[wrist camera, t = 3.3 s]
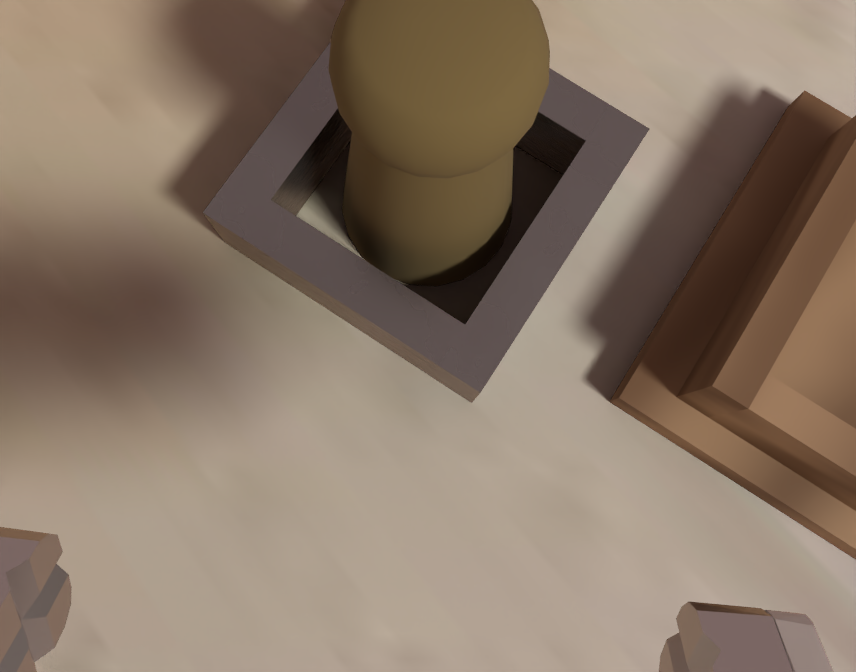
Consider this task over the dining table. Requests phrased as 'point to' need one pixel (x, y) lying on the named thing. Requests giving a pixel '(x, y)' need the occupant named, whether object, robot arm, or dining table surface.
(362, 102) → the cork
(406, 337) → the socket block
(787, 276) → the walnut rack
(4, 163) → the dining table surface
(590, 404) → the dining table surface
